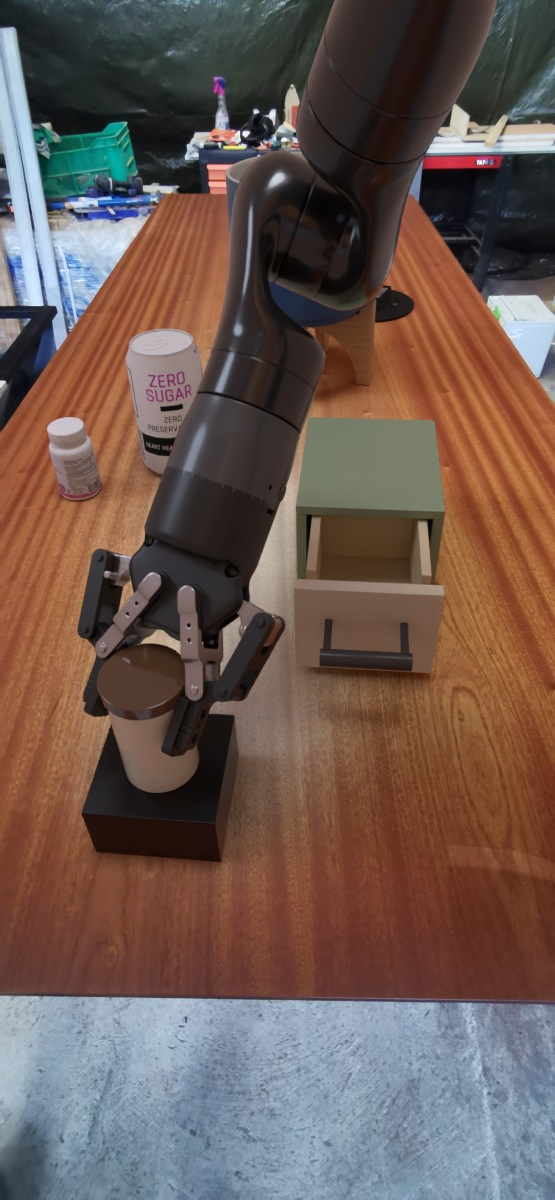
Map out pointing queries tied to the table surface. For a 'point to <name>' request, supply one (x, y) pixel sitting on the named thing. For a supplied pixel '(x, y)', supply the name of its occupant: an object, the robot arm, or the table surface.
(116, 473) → the table surface
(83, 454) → the pill bottle
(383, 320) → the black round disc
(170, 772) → the jar
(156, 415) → the supplement can
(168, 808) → the stand
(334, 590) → the drawer
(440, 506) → the cabinet
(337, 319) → the planter
